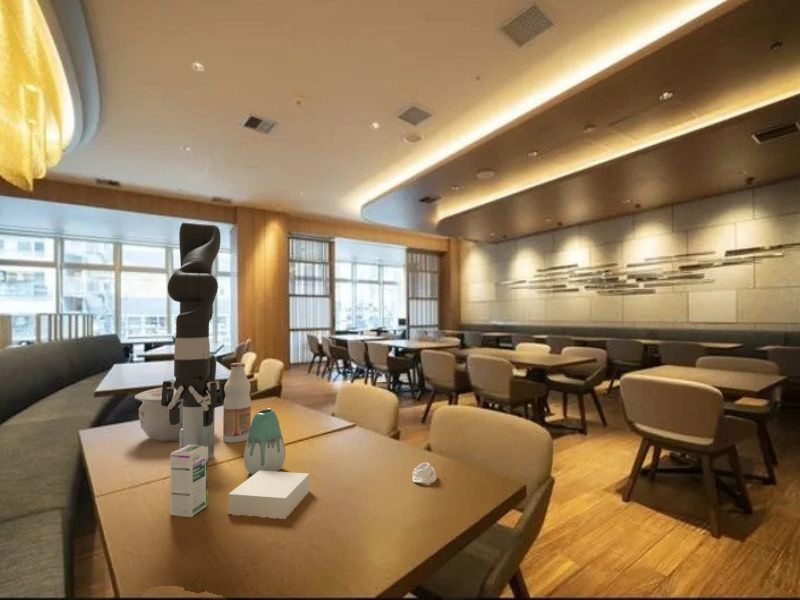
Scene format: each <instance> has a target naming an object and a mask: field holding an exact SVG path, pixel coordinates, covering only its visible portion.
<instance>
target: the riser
mask: <svg viewBox="0 0 800 600" xmlns="http://www.w3.org/2000/svg"><path fill="white" fill-rule="evenodd" d="M309 493H310V473H305V472H292V471H289V472H288V471H277V472H276V471H260V470H259V471H258V472H257V473H255V474H254V475H251V476H250V477H248V478H247V479H246V480H245V481H244V482H242V483H241V484H240V485H238V486H237V487H235V488H234V489H233V490H232V491H230V492H229V493H228V496H227V497H228V500H227V504H228V505H227V515H228V514H232V516H240V515H248V516H247V517H252V516H260V517H259V518H265V517H269V518H268V519H277V518H279V520H280V519H281V520H286V519H287V518H288V517H289V516H290V514H292V512H294V510H295V509H296V508H297V506H298V505H299V504H301V502H302V501H303V499H304V498H305V497H306V496H307V495H308V494H309ZM294 508H295V509H294ZM287 516H288V517H287ZM286 517H287V518H286Z"/></svg>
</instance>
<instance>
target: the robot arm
mask: <svg viewBox="0 0 800 600" xmlns="http://www.w3.org/2000/svg"><path fill="white" fill-rule="evenodd" d="M178 241H179V257H180V259H179V261H180V267H179V268H178V269H177V270H175V271H174V273H172V275H171V276H170V278H169V279H168V283H167V294H168V296H169V297H170V299H171V300H173V301H174V302H177V303H179V314H178V315H177V316H176V320H175V321H176V322H175V342H174V353H173V355H174V357H173V358H174V359H173V362H174V363H173V376H174V378H175V380H174V379H167V380H163V382H162V386H161V387H162V400H161V405H162V406H166V407H168V409H169V421H170V424H171V425H176V424H179V422H180V408H178V407H179V406H180V404H181V403H182V401H183V427H182V429H181V430H180V431H179V440H178V441H179V443H178V450H179V449H181V448H183V447H185V446H187V445H206V446H208V461H209V460H212V459H213V458H214V456H215V415H216V414H215V411H216V410H215V408H218V407H221V406H222V405H223V401H222V400H223V399H222V381H220V380H217V381H216V375H217V359H216V356H215V355H214V354H213V353H211V343H210V321H211V320H212V317H213V316H214V315H213V314H214V312H213V311H214V303H215V302H214V301H215V299H216V297H217V294H218V293H217V292H218V291H219V290H218V288H219V283H218V281H217V279H216V277H215V276H214V275H213V274H212V271H213V263H214V261H215V259H216V258H217V256H218V254H219V251H220V247H221V231H220V229H219V227H218V226H217V225H215V224H211V223H205V222H203V223H202V222H201V223H200V222H191V221H184V222H182V223H181V225H180V227H179V236H178ZM174 388H175V389H176V390H177V392H176V393H175V395H174ZM167 398H168V400H167Z"/></svg>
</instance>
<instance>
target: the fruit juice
mask: <svg viewBox="0 0 800 600" xmlns="http://www.w3.org/2000/svg"><path fill="white" fill-rule="evenodd" d="M245 367H246V364H245V362H233V363H230V369H231V371H230V373H229V376H228V378H227V380H226V383H225V384H224V387H223V389H224V394H225V397H224V400H223V419H222V420H223V423H222V424H223V427H222V428H223V429H222V430H223V431H222V433H223V434H222V439H223V442H226V443H231V444H233V443H234V444H235V443H241V442H244V441H247V439H248V436H249V432H250V428H251V423H252V418H251V417H252V416H251V415H252V413H251V412H252V411H251V410H252V408H251V407H252V400H251V396H250V392H251V386H252V385H251V382H250V381H249V379H248V377H247V374H246V371H245Z"/></svg>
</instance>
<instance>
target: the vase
mask: <svg viewBox="0 0 800 600" xmlns="http://www.w3.org/2000/svg"><path fill="white" fill-rule="evenodd" d="M283 437H284V436H283V433H282V430H281V426H280V421H279V417H278V415H277V413H276V412H275V410H274V409H272V408H264V409H260V410H259V411H257V412H256V413H254V416H253V417H252V419H251V428H250V432H249V436H248V439H247V440H246V443H245V447H244V453H243V464H244V468H245V469H246V471H247V472H248V473H249V474H250V475H251V476H253V475H254V474H255V473H257V472H258V471H259V470H260V471H276V472H280V470H281V469H282V467H283V466H284V463H285V461H286V446H285V442H284V438H283Z"/></svg>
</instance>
